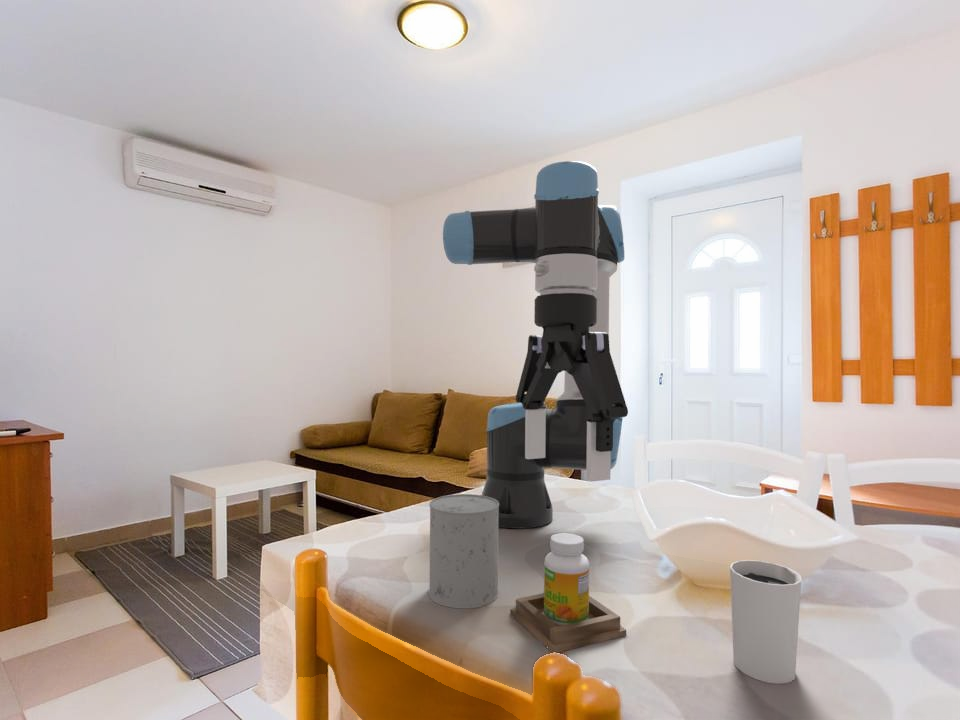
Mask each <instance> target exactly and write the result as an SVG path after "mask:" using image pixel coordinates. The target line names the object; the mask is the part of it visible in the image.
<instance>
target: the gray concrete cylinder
mask: <svg viewBox="0 0 960 720" xmlns="http://www.w3.org/2000/svg"><path fill="white" fill-rule="evenodd" d="M498 514H499V502H498V501H497V500H496V499H493V498H491V497H487V496H482V494H481V495H480V494H469V493H468V494H467V493H464V494H463V493H459V494H456V493H455V494H448V495H442V496H439V497H436V498H434V499H433V498H432V499H431V501H429V588H428V596H429V599H430V600H432V601H433V602H434V603H436V604H437V603H438V604H437V605H439V604H440V605H439V606H442V605H443V607H445V606H448V607H447V608H450V607H452V608H451V609H459V608H460V609H461V610H462V609H463V610H464V609H476V608H480V607H484V606H487V605H488V604H491V603H493V602H494V601H495V600H496V599H497V598H498V597H499V596H498V595H499V580H498V579H499V527H498ZM460 609H459V610H460Z"/></svg>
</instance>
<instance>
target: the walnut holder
mask: <svg viewBox="0 0 960 720" xmlns="http://www.w3.org/2000/svg"><path fill="white" fill-rule="evenodd" d="M509 609H510V615H511V616H512V617H513V618H514V619H515V620H517V622H519V624H521V625H522V626H523V627H524V628H525V629H526V630H527V631H528V632H530V634H531V635H532V636H534V637H535V639H537V640H538V641H539V642H540V643H541V644H542V645H543V646H544V645H545V646H546V647H548V648H547V650H549V651H550V652H551V653H552V652H558V653H557V654H559V653H563V652H567V651H571V650H573V649H578V648H582V647H585V646H589V645H594V644H598V643H600V642H605V641H609V640H612V639H616V638H620V637H624V636H627V629H626V628H625V627H623V626H622V625H621V616H620V615H618V614H617V613H615V612H614V611H612V609H610V608H608V607H607V606H605V605H604V604H602V603H601V602H600V601H598V600H596V598H593V597H591V596H590V595H589V614H588V620H583V621H579V622H575V623H570V624H566V625H562V626H556V625H555V624H554V623H553V622H552V621H551V620H549V619H548V618H547V617H546V616H545V615H544V592H542V593H538V594H534V595H533V594H532V595H528V596H523V597H519V598H515V608H514V607H513V608H509ZM545 646H544V647H545ZM546 647H545V648H546Z"/></svg>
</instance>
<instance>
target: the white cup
mask: <svg viewBox="0 0 960 720" xmlns="http://www.w3.org/2000/svg"><path fill="white" fill-rule="evenodd" d="M729 570H730V571H729V573H730V574H729V577H730V597H731V598H730V599H731V601H730V603H731V620H732V621H731V625H732V626H731V627H732V629H731V630H732V650H733V651H732V652H733V653H732V654H733V663H734V665H735V666H736V668H737V669H738V670H739V671H740V672H741V673H743V674H744V675H747V676H749V677H750V678H753V679H755V680H757V681H761V682H764V683H768V684H769V683H770V684H776V685H777V684H778V685H781V684H783V685H784V684H789V683H791V682H792V680H793V681H794V680H795V679H796V672H797V671H796V668H797V655H798V653H797V652H798V637H799V620H800V606H801V605H800V604H801V592H802V591H801V590H802V589H801V588H802V576H801V575H800V574H799V573H798V572H797V571H795V570H793V569H791V568H789V567H787V566H784V565H781V564H777V563H775V562H774V563H773V562H770V561H768V562H767V561H763V560H754V559H753V560H752V559H744V560H737V561H735V562H732V563H731V564H730V567H729Z"/></svg>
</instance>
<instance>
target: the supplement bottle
mask: <svg viewBox="0 0 960 720" xmlns="http://www.w3.org/2000/svg"><path fill="white" fill-rule="evenodd" d="M549 543H550V544H549V545H550V551H551V552H548V554H547V555H545V557H544V558H545V559H544V563H543V565H544V568H543V569H544V571H543V574H544V577H543V579H544V580H543V582H544V585H543V593H544V615H545V616H546V617H547V618H548V619H549V620H551V621H552V622H553V623H554V624H555V625H556V626H562V625H566V624H570V623H575V622H579V621H583V620H588V614H589V596H590V595H589V594H590V561H589V559H588V558H587V556H585V555H584V554H583V552H584V550H585V549H584V548H585V546H584V543H585V542H584V538H583V537H582V536H580V535H578V534H574V533H569V532H567V533H566V532H559V533H554V534H552V535H551V536H550V542H549Z"/></svg>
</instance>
